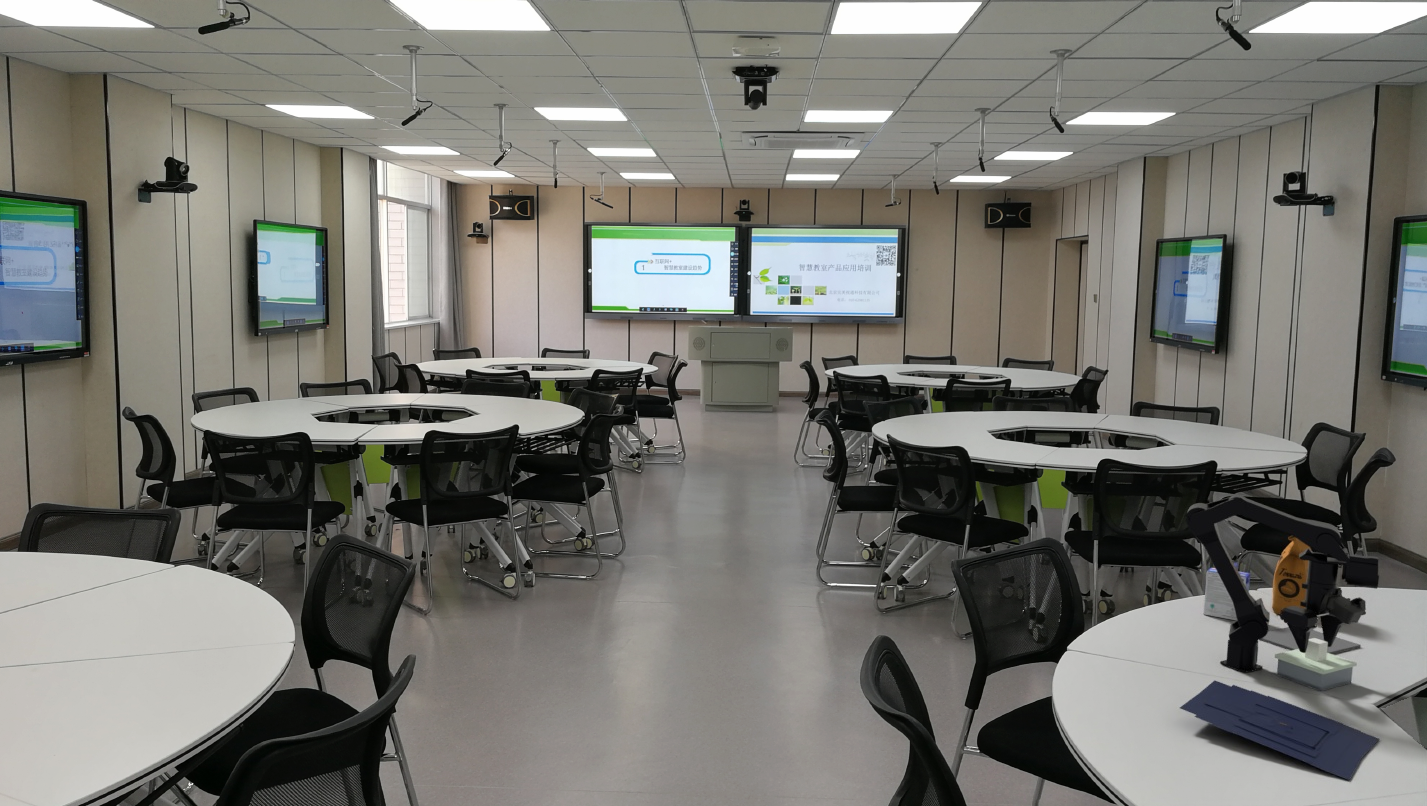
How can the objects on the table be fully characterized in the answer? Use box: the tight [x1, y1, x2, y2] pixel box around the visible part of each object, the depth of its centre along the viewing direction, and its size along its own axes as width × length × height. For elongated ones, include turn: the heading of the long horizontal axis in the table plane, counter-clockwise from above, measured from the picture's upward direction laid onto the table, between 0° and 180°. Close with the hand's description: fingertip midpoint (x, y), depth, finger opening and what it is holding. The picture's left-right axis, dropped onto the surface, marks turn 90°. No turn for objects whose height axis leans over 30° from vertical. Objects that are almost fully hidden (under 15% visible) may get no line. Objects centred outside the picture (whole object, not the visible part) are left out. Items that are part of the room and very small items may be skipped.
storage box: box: [1276, 659, 1354, 692], centre depth 226 cm, size 11×10×4 cm
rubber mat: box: [1258, 626, 1362, 655], centre depth 251 cm, size 18×16×1 cm
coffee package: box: [1271, 535, 1312, 615], centre depth 273 cm, size 10×12×22 cm
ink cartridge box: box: [1203, 562, 1251, 621], centre depth 269 cm, size 10×6×14 cm, turn 53°
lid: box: [1274, 638, 1358, 674], centre depth 226 cm, size 12×11×6 cm
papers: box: [1179, 679, 1380, 781], centre depth 197 cm, size 24×30×4 cm
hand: (1315, 649), depth 226 cm, fingers open, 9 cm apart
